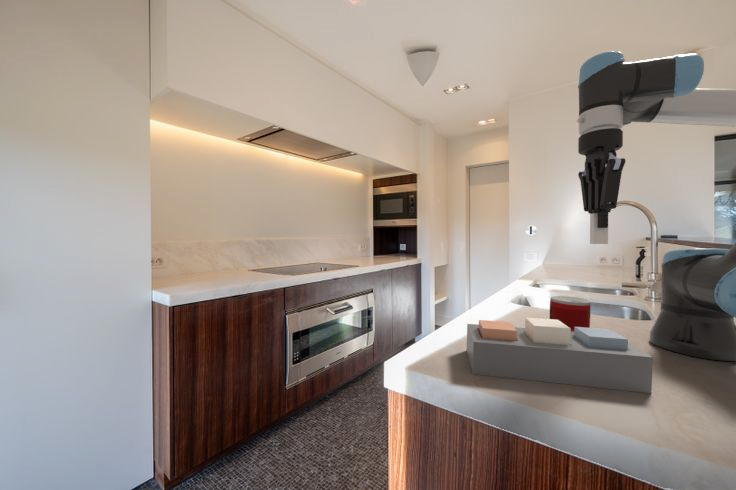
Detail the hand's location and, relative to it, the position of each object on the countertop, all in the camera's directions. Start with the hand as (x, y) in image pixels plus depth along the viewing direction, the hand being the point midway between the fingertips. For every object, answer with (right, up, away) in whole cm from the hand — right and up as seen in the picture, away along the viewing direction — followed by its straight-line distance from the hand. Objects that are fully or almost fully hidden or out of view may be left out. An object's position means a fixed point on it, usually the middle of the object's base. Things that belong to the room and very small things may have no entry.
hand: (598, 243), depth 66 cm
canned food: (-2, -24, +7) cm, 25 cm away
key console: (-15, -24, -6) cm, 29 cm away
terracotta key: (-24, -21, -4) cm, 32 cm away
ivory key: (-15, -20, -6) cm, 26 cm away
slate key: (-6, -22, -8) cm, 24 cm away
